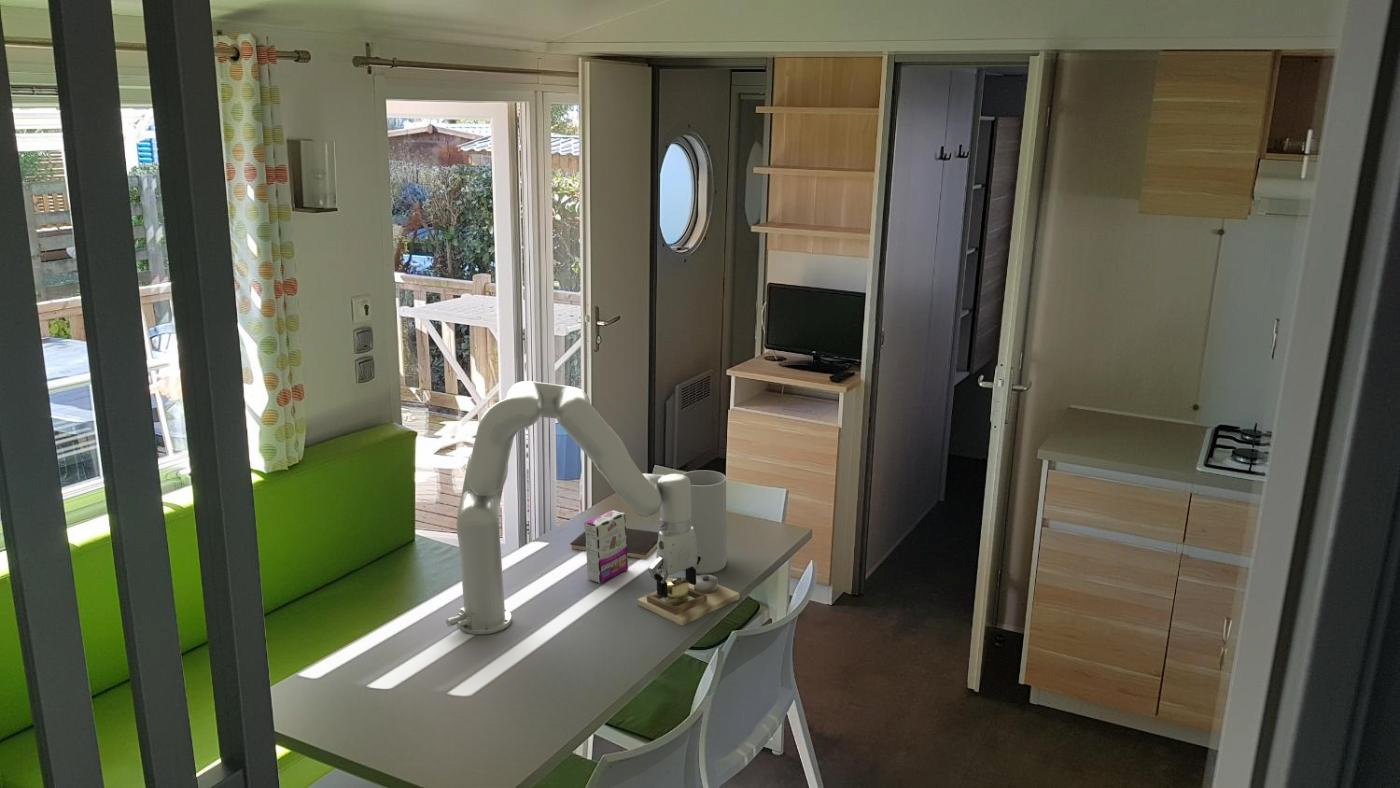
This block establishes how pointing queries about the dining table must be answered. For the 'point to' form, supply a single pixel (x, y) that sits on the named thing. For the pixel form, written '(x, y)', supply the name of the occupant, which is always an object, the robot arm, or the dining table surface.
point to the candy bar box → (606, 546)
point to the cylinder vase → (709, 518)
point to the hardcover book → (629, 542)
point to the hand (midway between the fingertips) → (676, 589)
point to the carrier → (692, 601)
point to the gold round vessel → (677, 591)
